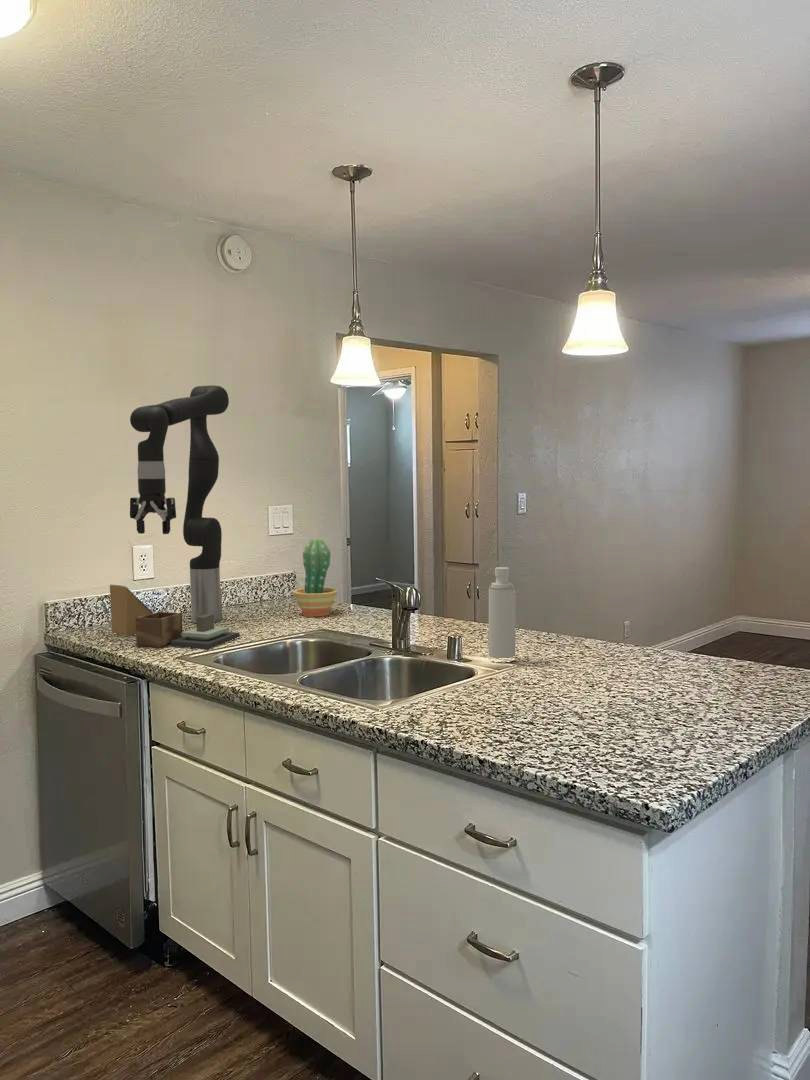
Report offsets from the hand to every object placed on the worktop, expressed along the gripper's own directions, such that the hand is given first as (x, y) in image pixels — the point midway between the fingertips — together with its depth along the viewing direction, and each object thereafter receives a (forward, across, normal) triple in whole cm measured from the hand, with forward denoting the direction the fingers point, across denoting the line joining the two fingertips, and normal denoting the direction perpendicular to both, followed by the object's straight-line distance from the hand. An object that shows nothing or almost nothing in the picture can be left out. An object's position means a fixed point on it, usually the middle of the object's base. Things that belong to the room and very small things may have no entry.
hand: (153, 533), depth 236 cm
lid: (+28, -18, +2) cm, 33 cm away
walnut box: (+30, -7, +8) cm, 32 cm away
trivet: (+30, -18, +2) cm, 35 cm away
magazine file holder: (+30, +10, -6) cm, 33 cm away
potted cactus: (+30, -28, -47) cm, 63 cm away
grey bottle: (+30, -102, -3) cm, 106 cm away
